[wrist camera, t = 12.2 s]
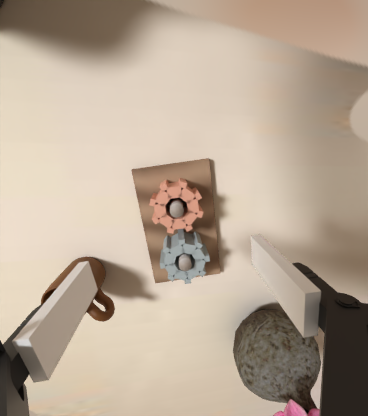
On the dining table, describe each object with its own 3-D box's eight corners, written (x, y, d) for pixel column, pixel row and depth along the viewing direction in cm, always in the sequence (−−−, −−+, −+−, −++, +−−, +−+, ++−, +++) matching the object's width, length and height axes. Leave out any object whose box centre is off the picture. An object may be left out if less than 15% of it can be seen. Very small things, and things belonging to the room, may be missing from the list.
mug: (131, 275, 41) (119, 309, 32) (114, 300, 43) (98, 340, 34) (79, 249, 39) (51, 277, 30) (63, 276, 41) (32, 311, 32)
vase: (240, 288, 44) (368, 548, 15) (307, 303, 46) (531, 552, 17) (216, 344, 48) (282, 629, 19) (279, 354, 50) (422, 625, 21)
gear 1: (149, 181, 35) (145, 186, 30) (196, 175, 35) (200, 178, 30) (157, 225, 37) (154, 236, 33) (201, 219, 37) (205, 229, 33)
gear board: (132, 169, 35) (123, 173, 28) (207, 158, 36) (216, 159, 29) (155, 279, 42) (152, 304, 35) (219, 270, 42) (228, 292, 35)
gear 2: (153, 242, 38) (151, 255, 33) (191, 221, 37) (194, 231, 33) (176, 274, 41) (176, 290, 36) (212, 255, 40) (217, 268, 35)
